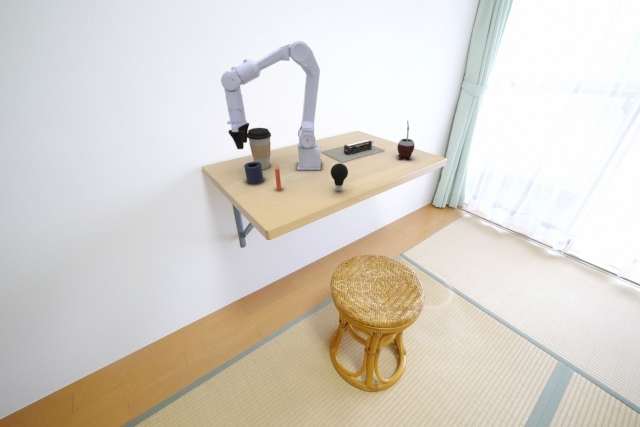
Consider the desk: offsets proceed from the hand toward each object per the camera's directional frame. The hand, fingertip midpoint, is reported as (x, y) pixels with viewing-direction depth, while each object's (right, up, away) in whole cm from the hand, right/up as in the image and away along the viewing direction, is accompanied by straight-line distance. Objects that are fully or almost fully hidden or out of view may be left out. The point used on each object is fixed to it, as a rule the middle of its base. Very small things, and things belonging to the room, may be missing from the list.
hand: (242, 145), depth 101 cm
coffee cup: (+6, -7, +8) cm, 12 cm away
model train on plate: (+46, +3, +23) cm, 52 cm away
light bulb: (+37, -19, -11) cm, 43 cm away
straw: (+16, -18, -10) cm, 26 cm away
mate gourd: (+68, -1, +16) cm, 70 cm away
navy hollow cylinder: (+6, -14, -4) cm, 16 cm away
